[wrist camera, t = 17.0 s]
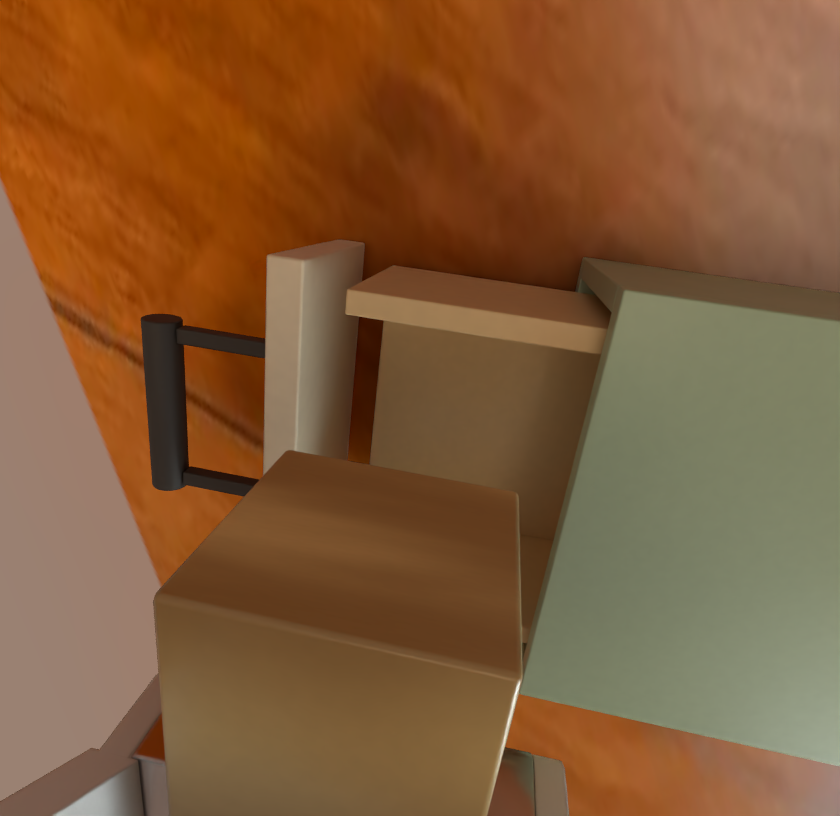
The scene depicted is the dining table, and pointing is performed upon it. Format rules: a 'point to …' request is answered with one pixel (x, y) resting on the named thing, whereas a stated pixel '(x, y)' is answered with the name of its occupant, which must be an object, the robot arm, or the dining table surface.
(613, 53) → the dining table surface
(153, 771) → the robot arm
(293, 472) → the tan and red block
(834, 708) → the cabinet
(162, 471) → the drawer
